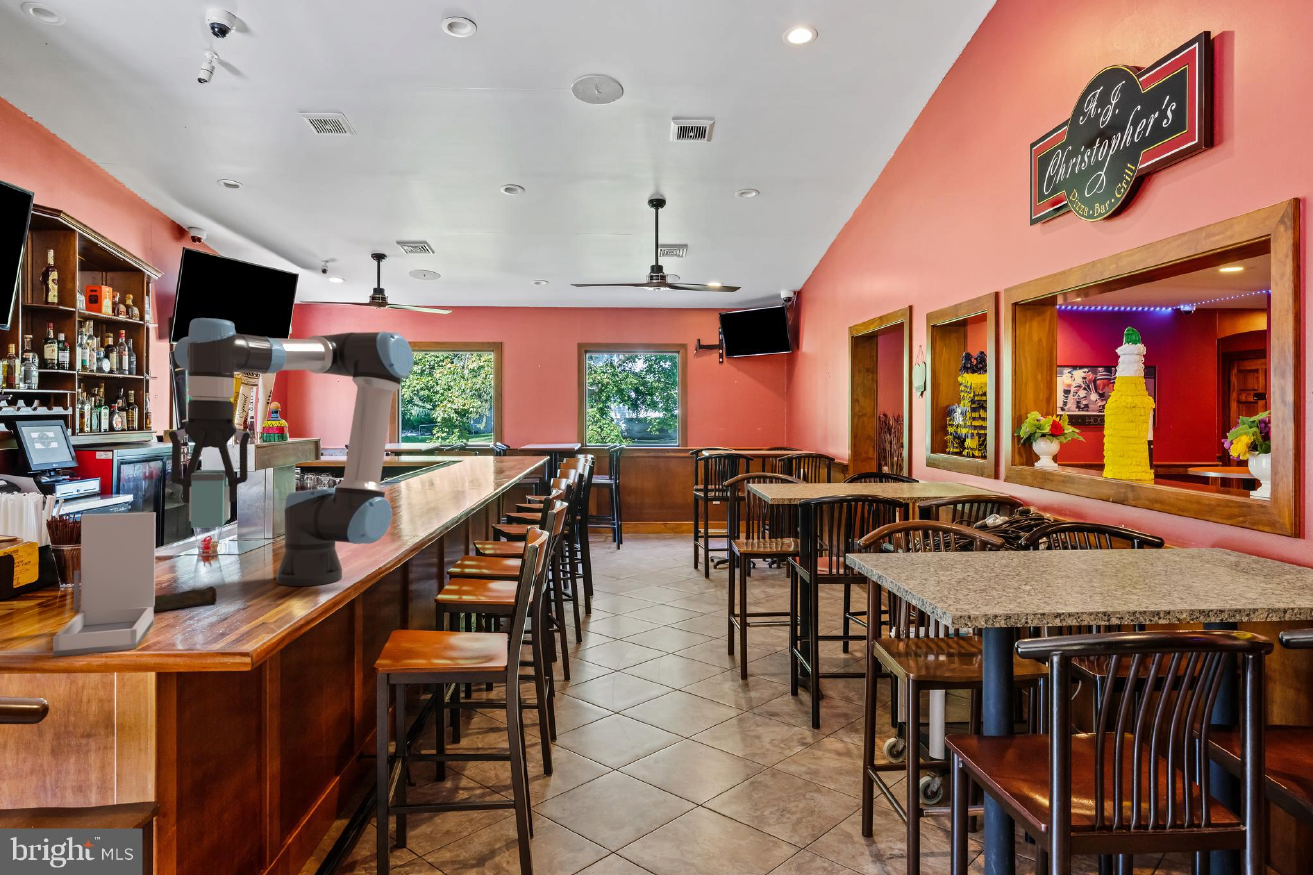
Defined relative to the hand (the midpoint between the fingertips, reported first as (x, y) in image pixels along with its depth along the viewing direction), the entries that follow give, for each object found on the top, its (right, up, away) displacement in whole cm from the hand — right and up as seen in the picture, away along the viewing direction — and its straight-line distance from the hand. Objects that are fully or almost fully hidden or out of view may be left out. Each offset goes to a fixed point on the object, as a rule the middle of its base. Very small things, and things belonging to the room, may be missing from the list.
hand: (210, 519), depth 138 cm
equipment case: (-15, -21, -7) cm, 27 cm away
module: (0, -1, 0) cm, 1 cm away
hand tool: (-17, -21, +12) cm, 30 cm away
